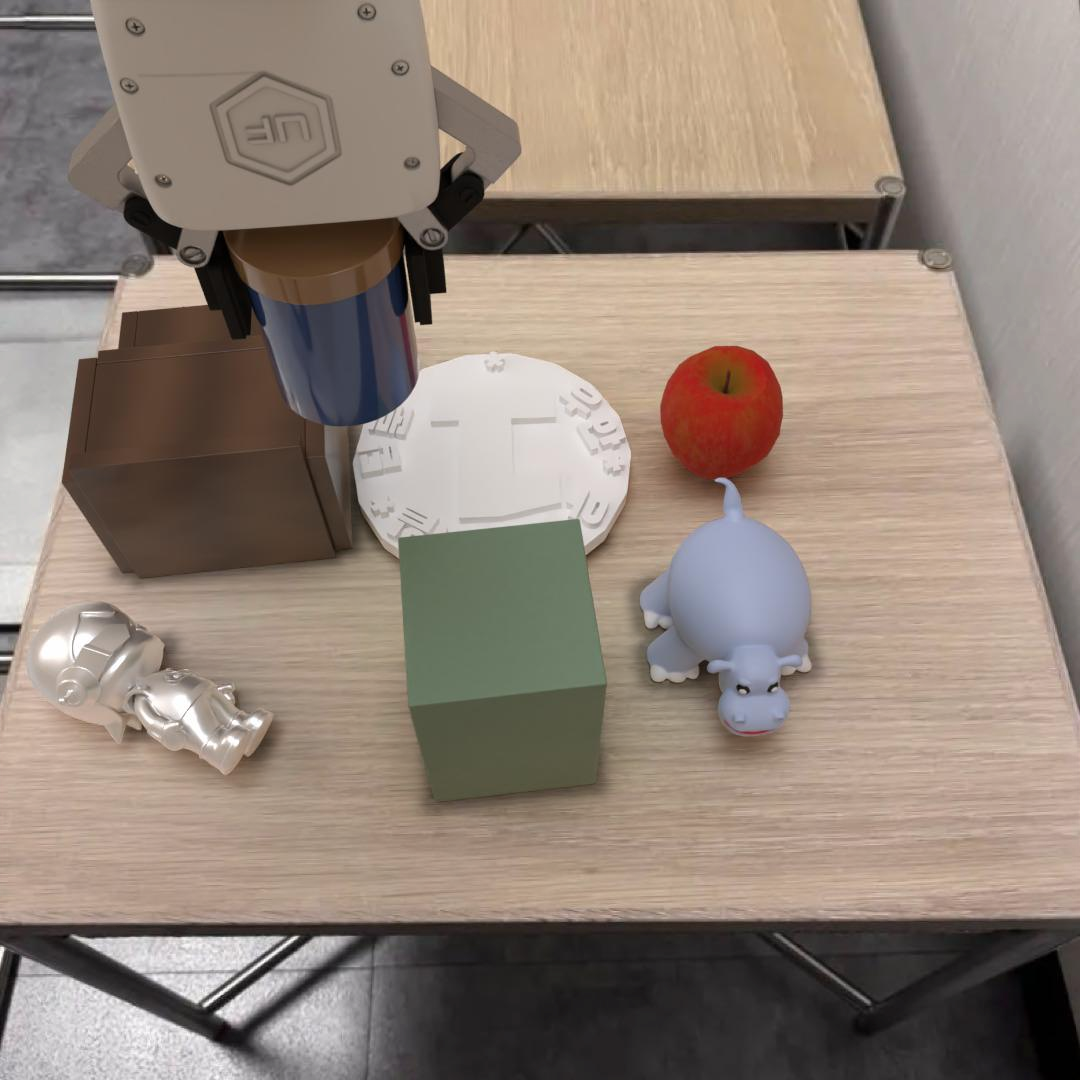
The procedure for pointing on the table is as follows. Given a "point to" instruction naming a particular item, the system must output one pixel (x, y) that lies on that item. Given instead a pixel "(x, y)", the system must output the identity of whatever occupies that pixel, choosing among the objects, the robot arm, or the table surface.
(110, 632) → the figurine
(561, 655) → the stand
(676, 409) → the apple
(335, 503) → the wooden storage crate
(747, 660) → the hippopotamus toy
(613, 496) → the white round plaque
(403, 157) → the robot arm
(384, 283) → the jar
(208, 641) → the table surface
